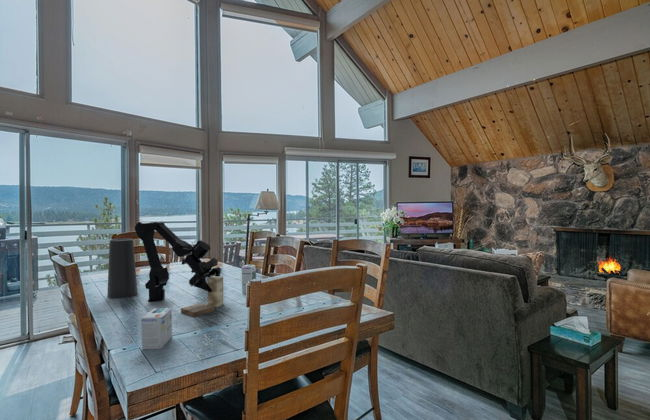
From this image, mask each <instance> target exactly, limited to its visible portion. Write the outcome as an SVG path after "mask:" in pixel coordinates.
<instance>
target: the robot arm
mask: <svg viewBox="0 0 650 420" xmlns="http://www.w3.org/2000/svg"><path fill="white" fill-rule="evenodd" d="M134 231H135V233H136V236H137V237H138V238H139V239H140V240H141V241H142V243H143V247H144V250H145V254H146V257H147V261H148V264H149V267H150V270H149V273H148V277H149V279H148V281H147V282H146V283H145V284H144V286H145V289H147V290H148V299H147V302H159V301H160V302H162V301H163V300H164V299H165V297H166V289H165V288H164V287H165V286H167V284H168V280H170V277H169V276H170V274H169V272H168V268H167V267H163V265H162V263H161V260H160V256H159V253H158V249H157V246H156V243H155V239H154V237H155V236H154V235H155V232H157V233H158V234H159V235H160V236H161V237H162V239H164V240H165V241H166V242H167V243H168V244H169V245H170V246H171V248H172V251H173V253H174V254H175V255H176V256H177V257H178V258H181V257H184V258H182V259H181V265H182V266H183V265H186V264H187V266H188V267H189V268H190V269H191V271H190V272H191V274H193V276H192V277H190V279H189V280H188V284H189V286H191V287H194V288H198V289H201V290H203V291H206V292H207V293H208V292H210V293H211V292H212V290H211V288H210V287H209V285H208V281H206V278H207V279H208V278H210V277H212V276H220V275H221V273H222V268H221V267H220V266H218V263H219V260H218V259H217V258H216V257H212V258H210V259H209V260H208V261H202V260H201V259H203V258H204V257H205V256H206V255H208V252H210V251H211V246H210V245H209V244H208V243H206V241H205V242H204V241H203V240H202V239H200V240H197V241H196V243H195V244H194V246H193V245H192V244H190V243H189V242H188V241H185V240H183V239H180V237H178V236H177V234H176V233H174V232H173V231H172V230H171V229H170V228H169V227H168V226H167V225H165V223H164V222H163V221H154V222H151V221H139V222H137V223H136V224H135V225H134ZM185 256H186V257H185Z"/></svg>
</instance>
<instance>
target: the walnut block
mask: <svg viewBox="0 0 650 420" xmlns="http://www.w3.org/2000/svg"><path fill="white" fill-rule="evenodd" d="M212 312H215V307H214V306H210V305H208V303H207V304H206V303H202V302H199V303H196V304H193V305H188V306H184V307H181V308H180V313H181V314H184V315H187V316H190V317H193V318H196V317H199V316H203V315H206V314H207V315H208V314H210V313H212Z"/></svg>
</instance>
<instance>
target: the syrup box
mask: <svg viewBox="0 0 650 420" xmlns="http://www.w3.org/2000/svg"><path fill="white" fill-rule="evenodd" d="M256 271H257V268H256V264H245V265H243V266H241V294H243V293H244V294H245V295H247V294H246V284H247V283H248V281H250V280H253V279H256V280H257V272H256Z"/></svg>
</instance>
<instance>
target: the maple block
mask: <svg viewBox="0 0 650 420" xmlns="http://www.w3.org/2000/svg"><path fill="white" fill-rule="evenodd" d="M207 284H208V285H209V287H210V288H211V290H212V292H211V293H210V292H208V291H207V305H210V306H214V308H218V307H221V306H222V305H224V276H212V277H210V278H208V277H207Z"/></svg>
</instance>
